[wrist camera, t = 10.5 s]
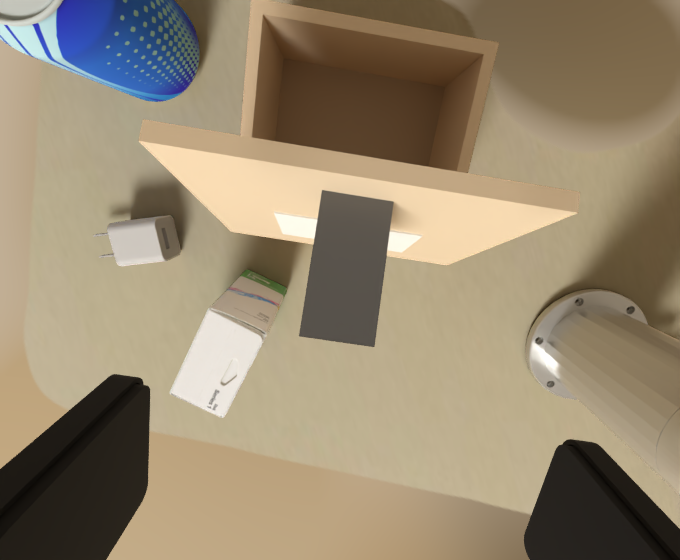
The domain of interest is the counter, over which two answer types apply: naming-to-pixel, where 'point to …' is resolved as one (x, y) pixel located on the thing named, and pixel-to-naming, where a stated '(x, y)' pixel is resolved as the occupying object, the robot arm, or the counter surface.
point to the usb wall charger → (143, 240)
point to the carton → (364, 86)
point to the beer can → (109, 41)
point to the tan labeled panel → (350, 213)
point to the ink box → (228, 343)
